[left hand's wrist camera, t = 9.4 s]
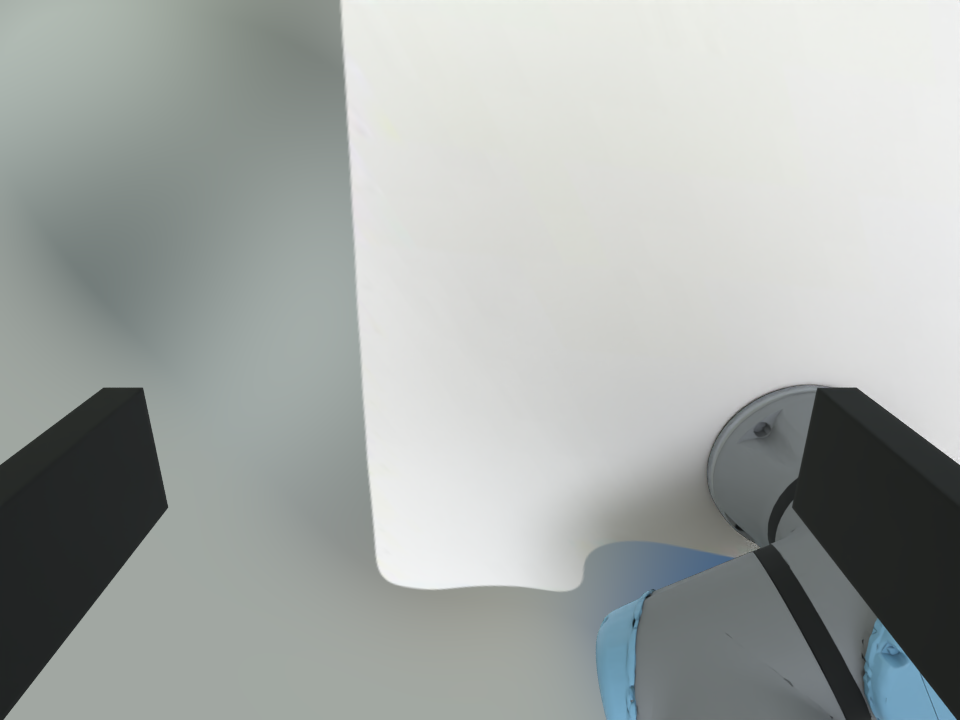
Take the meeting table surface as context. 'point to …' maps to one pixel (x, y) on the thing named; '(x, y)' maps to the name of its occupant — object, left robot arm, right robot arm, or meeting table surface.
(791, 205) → the meeting table surface
